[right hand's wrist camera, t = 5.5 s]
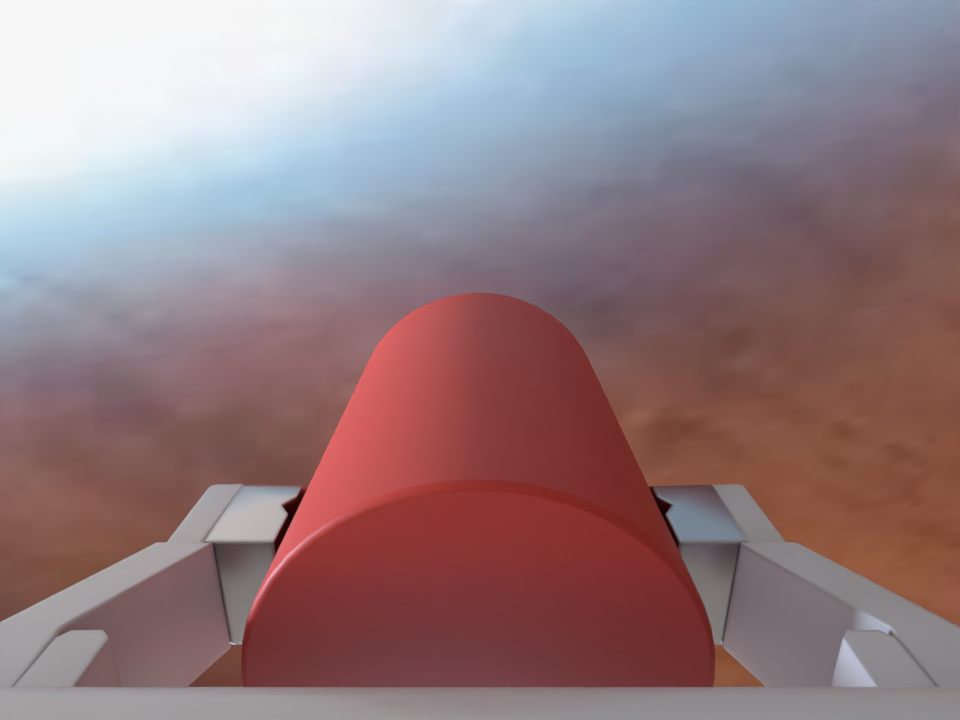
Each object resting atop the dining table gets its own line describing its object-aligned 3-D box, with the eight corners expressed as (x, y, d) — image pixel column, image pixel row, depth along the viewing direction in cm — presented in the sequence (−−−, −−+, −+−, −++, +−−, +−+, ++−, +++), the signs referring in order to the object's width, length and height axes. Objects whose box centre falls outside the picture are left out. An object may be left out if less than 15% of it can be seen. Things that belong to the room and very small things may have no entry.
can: (427, 537, 16) (381, 892, 9) (317, 353, 14) (139, 598, 7) (630, 455, 15) (776, 771, 8) (540, 250, 13) (616, 400, 6)
